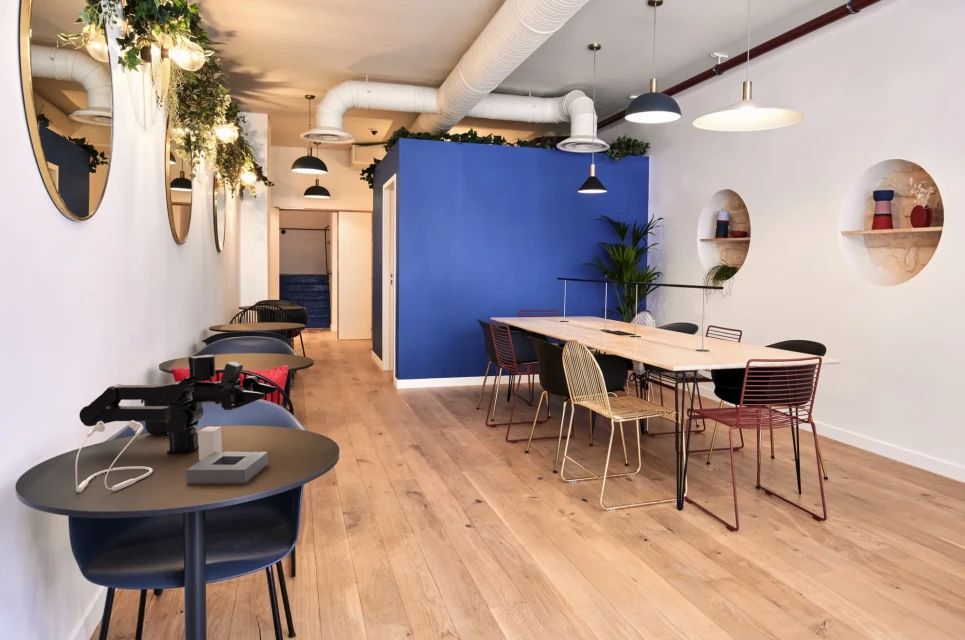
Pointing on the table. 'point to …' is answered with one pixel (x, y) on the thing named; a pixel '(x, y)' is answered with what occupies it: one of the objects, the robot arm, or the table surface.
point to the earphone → (100, 427)
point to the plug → (209, 441)
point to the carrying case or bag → (155, 426)
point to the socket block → (227, 468)
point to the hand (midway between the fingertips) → (270, 392)
